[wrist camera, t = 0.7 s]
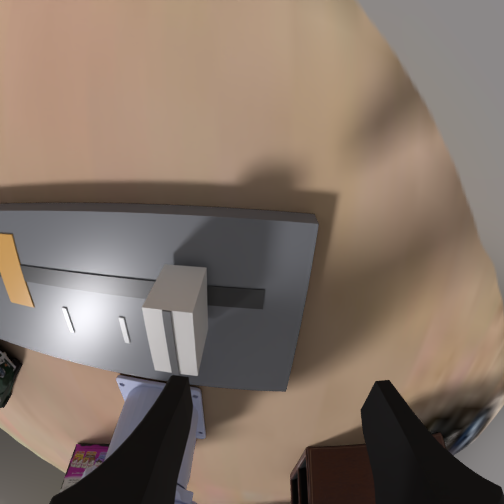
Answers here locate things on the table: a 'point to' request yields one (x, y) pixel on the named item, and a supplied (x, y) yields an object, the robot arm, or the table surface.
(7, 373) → the miniature car
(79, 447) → the candy bar box
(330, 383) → the table surface
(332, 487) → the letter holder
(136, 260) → the console board
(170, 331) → the fader knob
